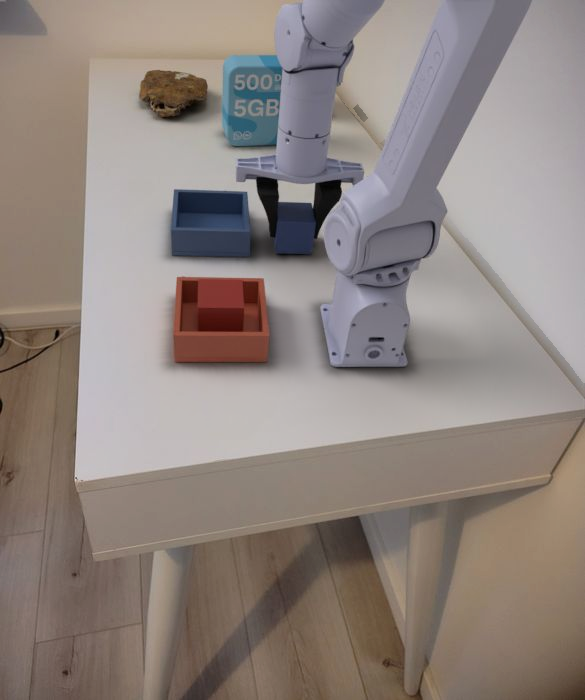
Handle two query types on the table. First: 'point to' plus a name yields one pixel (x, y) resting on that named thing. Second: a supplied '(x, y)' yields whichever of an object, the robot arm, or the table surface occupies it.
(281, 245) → the blue block
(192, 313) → the terracotta bin
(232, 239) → the blue bin
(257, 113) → the data package
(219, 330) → the red block
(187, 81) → the decorative rock
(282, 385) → the table surface
